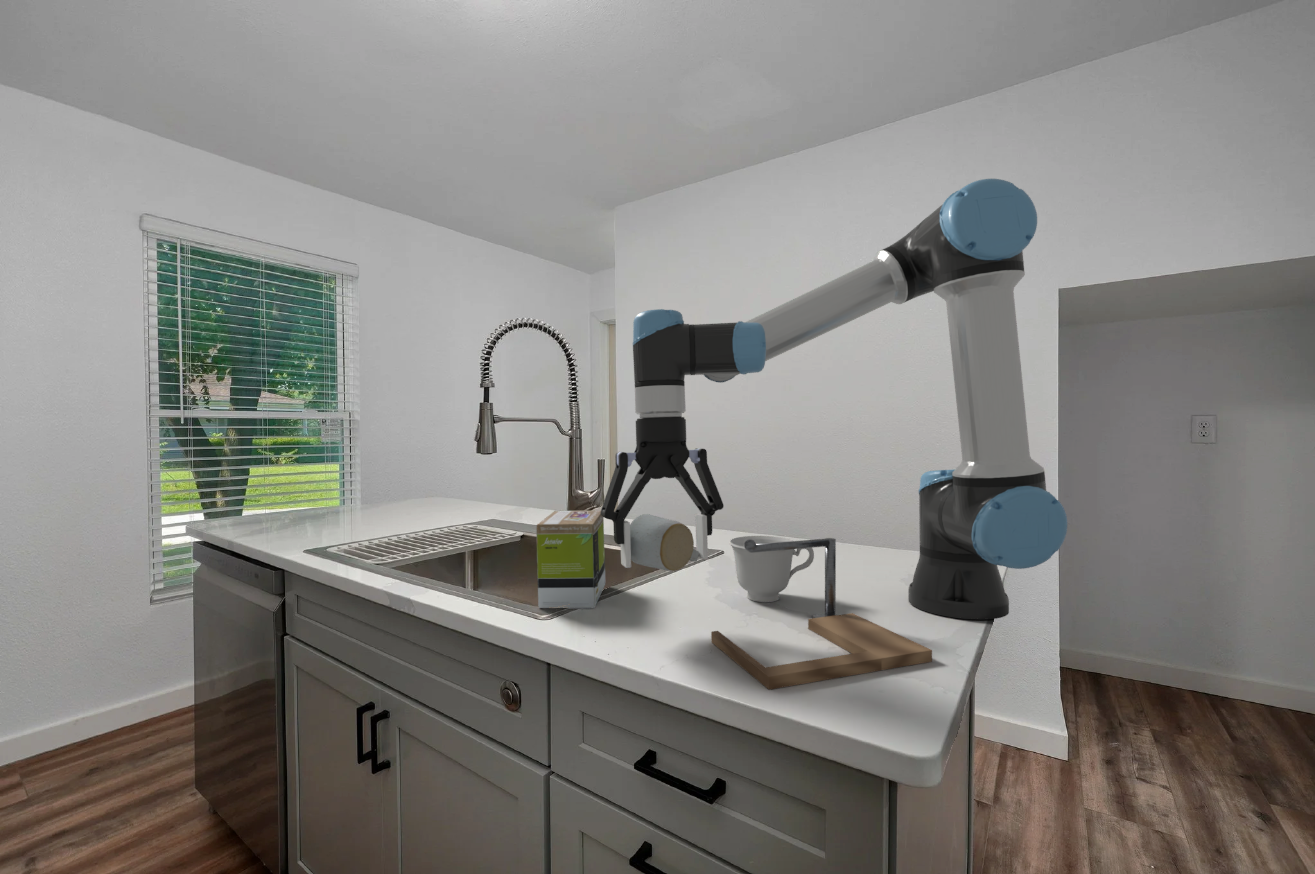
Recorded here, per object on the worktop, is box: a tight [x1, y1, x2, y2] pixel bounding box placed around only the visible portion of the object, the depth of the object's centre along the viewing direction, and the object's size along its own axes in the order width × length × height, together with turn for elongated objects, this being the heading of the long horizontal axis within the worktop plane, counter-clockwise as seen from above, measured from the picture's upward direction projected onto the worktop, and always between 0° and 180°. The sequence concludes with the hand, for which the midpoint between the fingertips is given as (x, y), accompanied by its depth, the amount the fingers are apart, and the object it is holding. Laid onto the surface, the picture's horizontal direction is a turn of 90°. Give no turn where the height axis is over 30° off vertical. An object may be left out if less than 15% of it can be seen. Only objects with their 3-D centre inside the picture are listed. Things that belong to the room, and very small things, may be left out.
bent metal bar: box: [744, 537, 837, 619], centre depth 89 cm, size 17×4×14 cm, turn 109°
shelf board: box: [710, 612, 933, 691], centre depth 79 cm, size 24×16×2 cm, turn 109°
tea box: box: [536, 510, 606, 610], centre depth 106 cm, size 15×10×15 cm, turn 178°
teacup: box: [728, 535, 815, 603], centre depth 104 cm, size 12×15×10 cm
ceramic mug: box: [630, 513, 699, 572], centre depth 88 cm, size 11×8×8 cm
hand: (665, 561), depth 88 cm, fingers closed on ceramic mug, 11 cm apart
